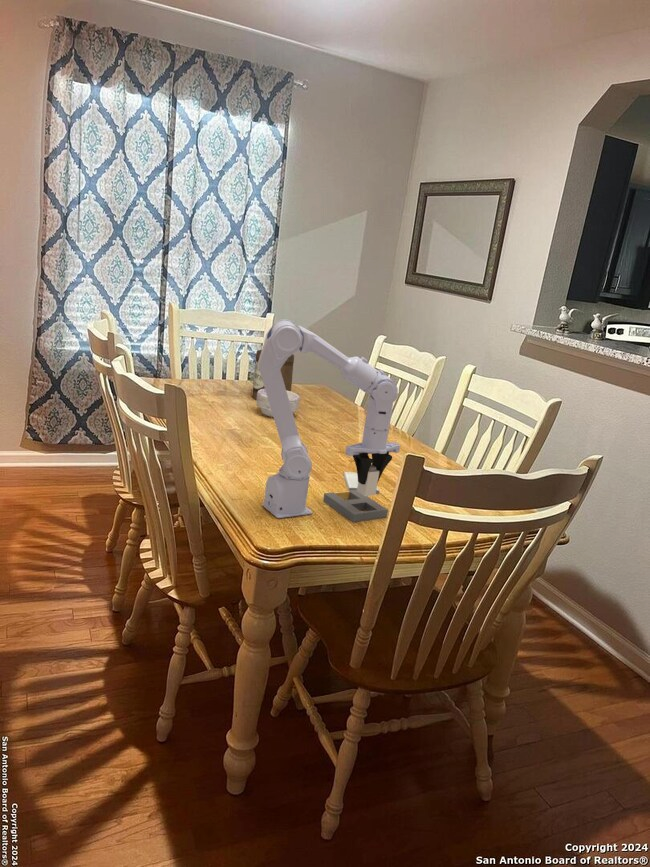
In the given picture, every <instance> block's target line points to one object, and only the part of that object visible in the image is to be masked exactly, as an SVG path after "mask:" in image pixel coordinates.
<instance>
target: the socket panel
mask: <svg viewBox="0 0 650 867" xmlns="http://www.w3.org/2000/svg"><path fill="white" fill-rule="evenodd" d="M322 501H323V502H324V503H326V504H327V505H328V506H330V507H331V508H332V509H334V510H335V511H336V512H338V513H339V514H341V515H342V516H343V517H345V518H346V519H348V520H349V521H351V522H352V523H358V522H363V521H372V520H378V519H379V520H380V519H385V518H387V517H388V512H389V509H387V508H386V507H385V506H383V505H381V504H380V503H378V502H377V501H375V500H373V499H372V498H371V497H370V496H363V495H362V494H360V493H359V492H357V490H349V491H348V490H343V491H334V492H326V493H323V498H322Z"/></svg>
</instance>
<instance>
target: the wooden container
mask: <svg viewBox="0 0 650 867" xmlns="http://www.w3.org/2000/svg"><path fill="white" fill-rule="evenodd" d="M261 351H262V349H258V350H256V354H255V355H256V356H255V366H254V374H253V381H252V393H251V398H252V399H253V400H255V401H257V392H258V391H259V390H260V389H265V387H264V384H263V380H262V377H261V373H260V370H259V366H258V361H259V357H260V354H261ZM294 363H295V354H292V355H291V356H290V357H288V358H287V360H286V361H285V363H284V364H283V366H282V367H281V374H282V377H283V381H284V384H285V388H286V390H287V391H291V392H292V384H293V383H292V382H293V372H294Z"/></svg>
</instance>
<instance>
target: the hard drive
mask: <svg viewBox="0 0 650 867" xmlns="http://www.w3.org/2000/svg"><path fill="white" fill-rule="evenodd" d="M343 477H344V481H345V484H346V488H347V491H349V490H357V487H358V475H357V472H353V471H351V472H350V471H344V472H343ZM376 495H380V489H379V487H378V486H377V489H376Z"/></svg>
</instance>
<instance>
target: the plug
mask: <svg viewBox="0 0 650 867" xmlns="http://www.w3.org/2000/svg"><path fill="white" fill-rule="evenodd" d="M378 477H379V471H378V470H376V467H375V466H373V465H372V464H371V465H370V468H369V471H368V475H367V480H366V483H365V484H364V485H363V484H361V483H359V482H358V487H357V492H359V493H360V494H362V495H363V496H367V497H371V496H376V495H377V494H376V489H377V487H378V483H379V481H378Z"/></svg>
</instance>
